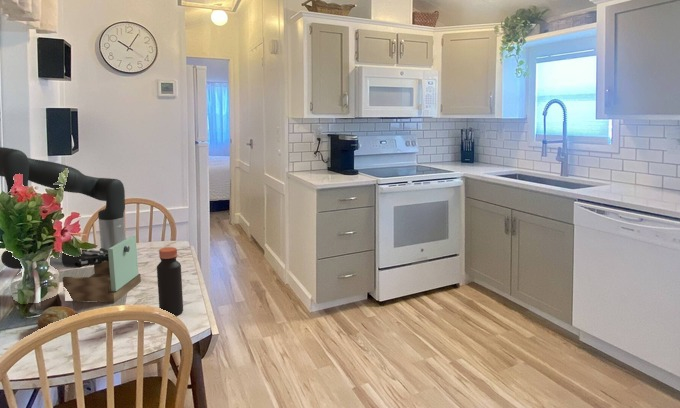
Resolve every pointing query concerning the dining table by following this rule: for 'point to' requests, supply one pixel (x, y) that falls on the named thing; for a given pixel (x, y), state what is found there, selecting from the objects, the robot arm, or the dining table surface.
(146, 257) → the dining table surface
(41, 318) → the bread roll
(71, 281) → the wood grain box
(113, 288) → the green box lid
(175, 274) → the bottle
